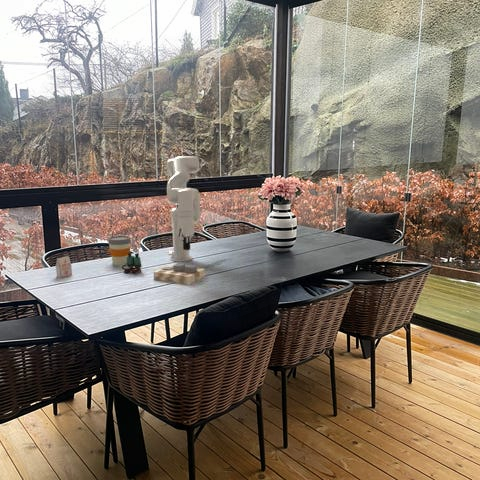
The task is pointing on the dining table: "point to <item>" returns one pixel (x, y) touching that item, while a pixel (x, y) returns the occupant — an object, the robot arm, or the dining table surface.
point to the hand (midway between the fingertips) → (186, 249)
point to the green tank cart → (132, 264)
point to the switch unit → (178, 275)
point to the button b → (179, 267)
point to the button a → (168, 268)
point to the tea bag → (63, 267)
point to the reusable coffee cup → (119, 249)
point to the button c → (191, 269)
